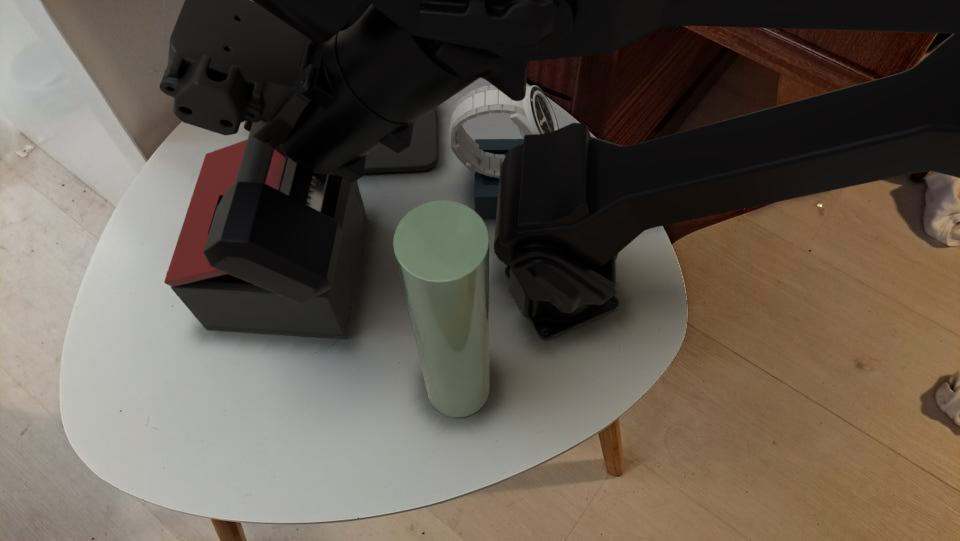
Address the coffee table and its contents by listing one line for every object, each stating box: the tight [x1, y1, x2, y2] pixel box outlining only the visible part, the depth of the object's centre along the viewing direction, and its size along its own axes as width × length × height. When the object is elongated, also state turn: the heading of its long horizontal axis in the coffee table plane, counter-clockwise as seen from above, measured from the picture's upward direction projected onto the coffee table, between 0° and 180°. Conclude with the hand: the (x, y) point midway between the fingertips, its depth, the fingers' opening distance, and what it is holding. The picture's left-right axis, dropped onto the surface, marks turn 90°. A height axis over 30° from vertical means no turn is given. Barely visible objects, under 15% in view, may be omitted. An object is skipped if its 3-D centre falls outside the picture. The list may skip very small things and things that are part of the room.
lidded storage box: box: [170, 172, 368, 340], centre depth 52 cm, size 10×10×7 cm
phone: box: [363, 107, 438, 174], centre depth 61 cm, size 7×1×15 cm
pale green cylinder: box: [392, 199, 491, 418], centre depth 42 cm, size 4×4×20 cm
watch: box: [448, 84, 560, 220], centre depth 54 cm, size 6×8×11 cm
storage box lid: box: [163, 122, 287, 288], centre depth 45 cm, size 11×10×4 cm
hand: (233, 187), depth 46 cm, fingers open, 9 cm apart
